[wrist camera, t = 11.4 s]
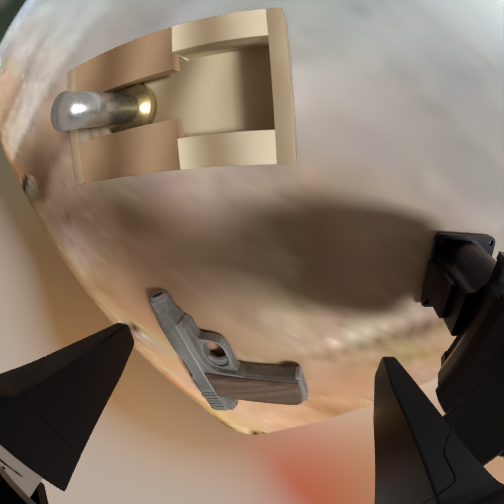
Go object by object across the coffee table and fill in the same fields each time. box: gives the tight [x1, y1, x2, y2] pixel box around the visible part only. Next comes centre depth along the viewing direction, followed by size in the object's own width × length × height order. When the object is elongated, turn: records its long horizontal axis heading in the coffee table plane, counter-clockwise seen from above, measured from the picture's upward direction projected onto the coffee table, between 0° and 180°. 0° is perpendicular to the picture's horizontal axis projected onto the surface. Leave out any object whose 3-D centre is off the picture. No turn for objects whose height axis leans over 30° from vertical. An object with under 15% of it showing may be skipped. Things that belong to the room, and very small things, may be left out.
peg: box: [51, 83, 157, 133], centre depth 14 cm, size 4×4×8 cm
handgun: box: [149, 290, 308, 410], centre depth 25 cm, size 3×16×12 cm
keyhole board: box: [68, 8, 297, 185], centre depth 16 cm, size 17×10×3 cm, turn 94°
